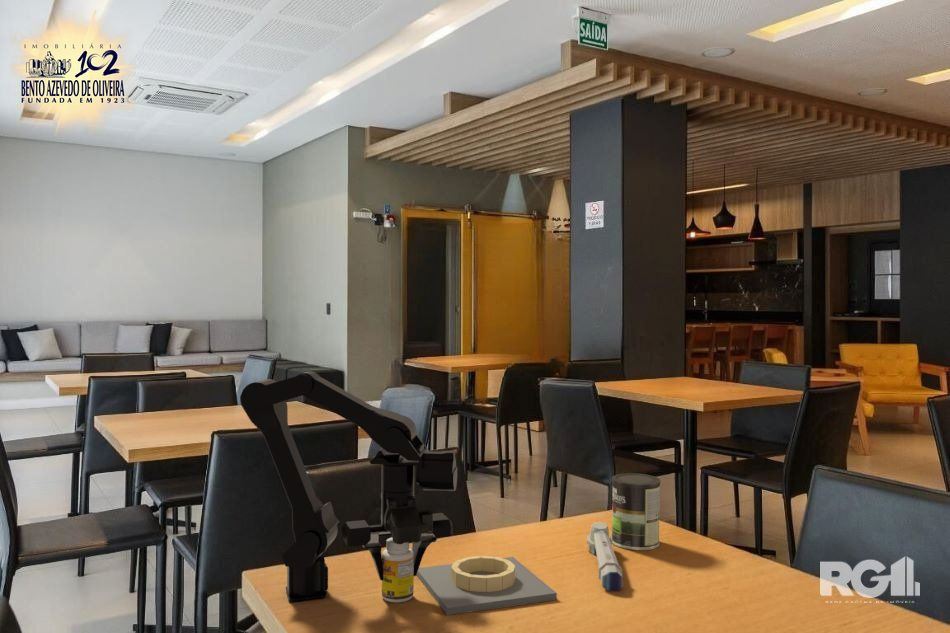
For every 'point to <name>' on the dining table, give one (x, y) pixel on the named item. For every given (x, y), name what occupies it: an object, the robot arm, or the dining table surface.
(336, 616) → the dining table surface
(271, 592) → the dining table surface
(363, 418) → the robot arm
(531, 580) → the grey board with ring
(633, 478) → the coffee can
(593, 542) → the grey blue-tipped handheld tool
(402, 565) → the supplement bottle
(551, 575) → the dining table surface
